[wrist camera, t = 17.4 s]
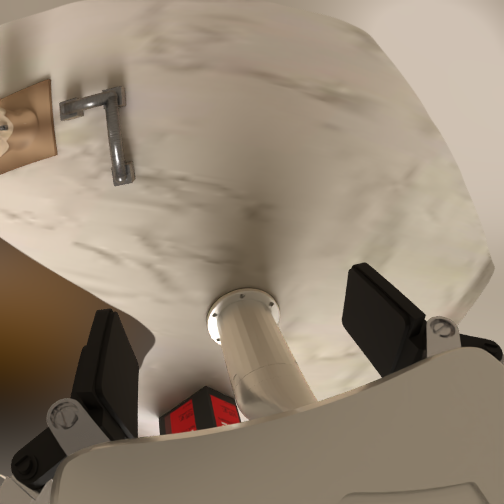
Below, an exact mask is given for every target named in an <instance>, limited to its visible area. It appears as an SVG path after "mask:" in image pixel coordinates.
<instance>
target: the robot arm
mask: <svg viewBox="0 0 504 504" xmlns="http://www.w3.org/2000/svg"><path fill="white" fill-rule="evenodd" d="M425 316H426V315H425V314H424V313H423V312H422V311H421V310H420V309H419V308H418V307H417V306H416V305H414V304H413V303H412V302H411V301H410V300H409V299H408V298H407V297H405V296H404V295H403V294H402V293H401V292H400V291H399V290H398V289H396V288H395V287H394V286H393V285H392V284H391V283H390V282H388V281H387V280H386V279H385V278H384V277H383V276H381V275H380V274H379V273H378V272H377V271H376V270H374V269H373V268H372V267H371V266H370V265H369V264H367V263H360V264H355V265H353V266H352V268H351V269H350V270H349V272H348V280H347V287H346V295H345V302H344V309H343V316H342V324H343V326H344V328H345V329H346V330H347V332H348V333H349V334H350V336H351V337H352V338H353V340H354V341H355V342H356V344H357V345H358V346H359V347H360V349H361V350H362V351H363V353H364V354H365V355H366V357H367V358H368V359H369V361H370V362H371V363H372V365H373V366H374V367H375V369H376V370H377V371H378V373H379V374H380V375H381V377H382V378H380V379H378V380H376V381H373V382H371V383H368V384H366V385H363V386H361V387H358V388H355V389H353V390H350V391H347V392H345V393H342V394H339V395H336V396H333V397H330V398H327V399H325V400H322V401H317V399H316V397H315V396H314V394H313V392H312V391H311V389H310V387H309V385H308V384H307V382H306V380H305V378H304V376H303V374H302V372H301V370H300V368H299V366H298V364H297V362H296V360H295V358H294V357H293V355H292V353H291V351H290V349H289V347H288V345H287V343H286V341H285V339H284V337H283V335H282V333H281V331H280V329H279V327H278V323H279V319H280V311H279V307H278V305H277V303H276V301H275V300H274V299H273V297H272V296H271V295H269V294H268V293H266V292H264V291H262V290H259V289H254V288H244V289H238V290H235V291H232V292H229V293H227V294H225V295H224V296H222V297H221V298H219V299H218V300H217V301H216V302H215V303H214V304H213V306H212V307H211V309H210V311H209V313H208V316H207V328H208V332H209V334H210V336H211V337H212V339H213V340H214V341H215V342H217V343H218V344H219V345H221V347H222V351H223V354H224V358H225V362H226V366H227V370H228V374H229V378H230V381H231V385H232V389H233V392H234V396H235V399H236V403H237V405H238V407H239V409H240V411H241V412H242V414H243V415H244V416H245V417H246V418H248V419H249V421H245V422H240V423H236V424H231V425H226V426H220V427H215V428H209V429H203V430H197V431H190V432H183V433H176V434H168V435H159V436H150V437H140V438H138V376H139V366H138V362H137V359H136V357H135V355H134V352H133V350H132V348H131V345H130V343H129V341H128V338H127V336H126V334H125V331H124V328H123V326H122V323H121V321H120V318H119V315H118V313H117V312H113V311H112V309H104V310H97V311H96V314H95V318H94V321H93V324H92V328H91V331H90V335H89V338H88V342H87V345H86V346H84V347H83V349H82V352H81V356H80V359H79V363H78V367H77V371H76V375H75V380H74V384H73V389H72V393H71V398H70V399H69V398H66V399H61V400H59V401H57V402H55V403H54V404H53V405H52V406H51V408H50V409H49V411H48V414H47V423H48V426H49V427H48V428H47V429H45V430H44V431H43V432H42V433H40V434H39V435H38V436H37V437H36V438H34V439H33V440H32V441H30V442H29V443H28V444H27V445H25V446H24V447H23V448H22V449H21V450H19V451H18V452H17V453H16V454H15V455H14V457H13V459H12V463H11V469H12V473H13V475H12V476H11V477H9V476H7V477H6V479H5V480H4V482H3V484H2V485H1V487H0V504H504V355H503V353H502V350H501V348H500V346H499V345H498V344H496V343H495V342H494V341H491V340H487V339H483V338H478V337H473V336H468V335H463V334H459V330H458V327H457V325H456V324H455V323H454V322H453V321H452V320H450V319H448V318H445V317H441V316H436V317H432V318H430V319H429V320H428V321H426V320H424V319H425Z"/></svg>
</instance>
